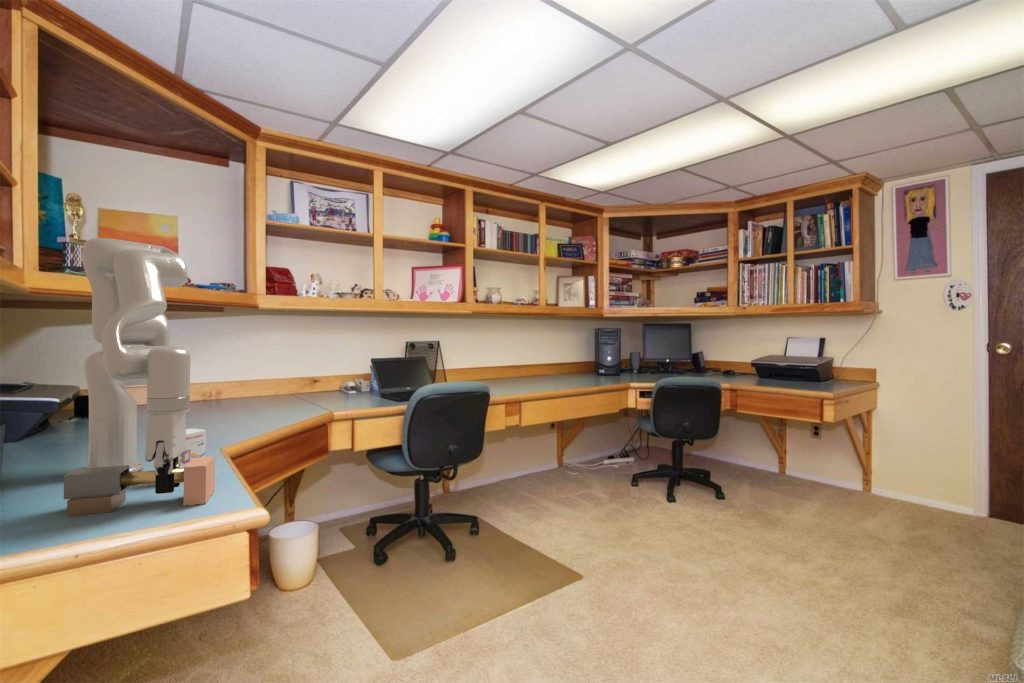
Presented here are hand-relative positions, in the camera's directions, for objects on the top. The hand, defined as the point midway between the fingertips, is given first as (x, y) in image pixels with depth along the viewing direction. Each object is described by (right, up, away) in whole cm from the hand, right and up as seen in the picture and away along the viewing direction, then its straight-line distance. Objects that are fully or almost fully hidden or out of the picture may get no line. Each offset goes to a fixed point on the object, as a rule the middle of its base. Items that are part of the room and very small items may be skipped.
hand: (167, 489), depth 101 cm
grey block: (-11, -3, -4) cm, 12 cm away
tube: (-2, +1, -1) cm, 2 cm away
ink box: (-8, -3, +17) cm, 19 cm away
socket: (+5, -3, +2) cm, 6 cm away
